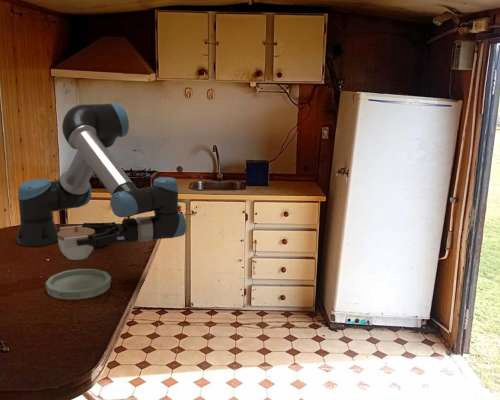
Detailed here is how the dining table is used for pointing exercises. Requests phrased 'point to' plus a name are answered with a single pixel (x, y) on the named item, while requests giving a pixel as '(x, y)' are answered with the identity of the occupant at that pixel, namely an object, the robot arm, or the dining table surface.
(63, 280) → the rimmed tray
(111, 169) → the robot arm
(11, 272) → the dining table surface
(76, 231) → the lidded jar
